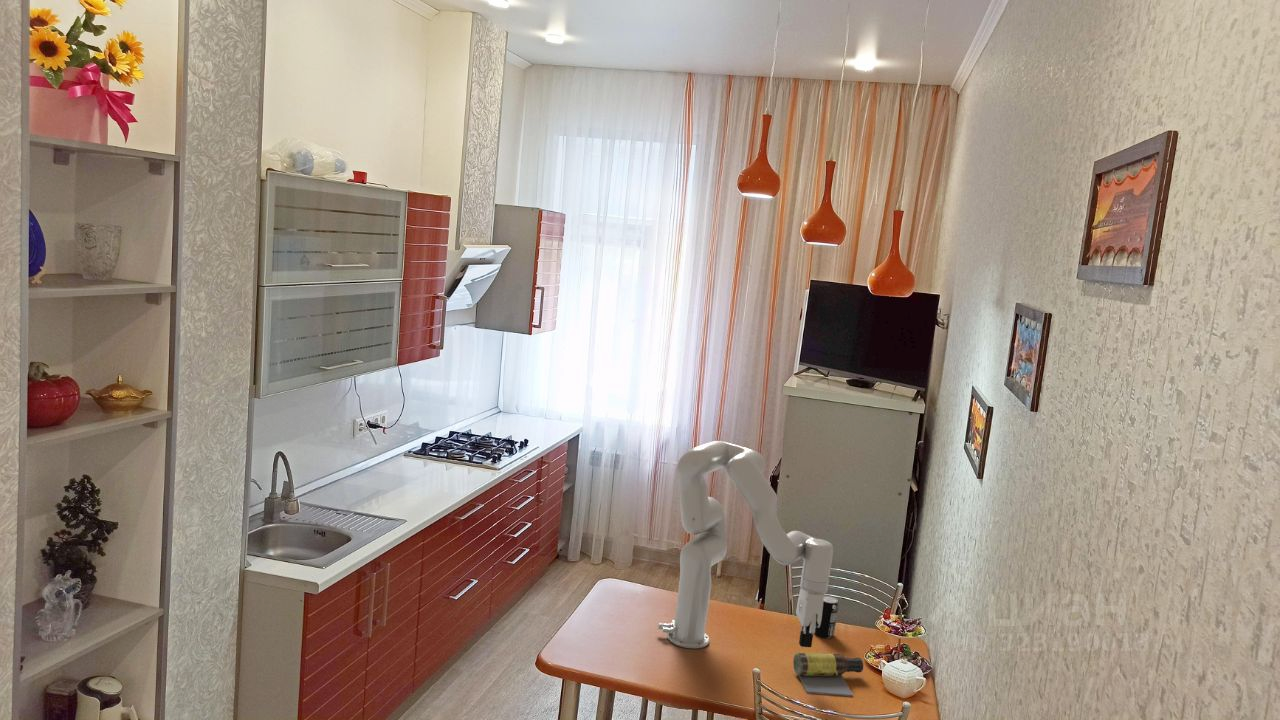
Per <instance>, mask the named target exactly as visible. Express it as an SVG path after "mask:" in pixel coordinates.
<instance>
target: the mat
mask: <svg viewBox="0 0 1280 720" xmlns="http://www.w3.org/2000/svg"><path fill="white" fill-rule="evenodd" d="M797 675H798V674H797ZM798 678H799V680H800V682H801V684H802V686H803V689H804V691H805V693H806V694H813V695H817V694H818V695H826V694H827V695H828V696H829V695H830V696H840V697H853V696H854V694H853V692H852V691H851V689H850V687H849V685H848V683H847V682H846V680H845V679H844V677H843V674H842V675H839V676H804V675H798Z"/></svg>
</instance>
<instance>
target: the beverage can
mask: <svg viewBox="0 0 1280 720" xmlns="http://www.w3.org/2000/svg"><path fill="white" fill-rule="evenodd" d="M838 601H839V600H838V598H836V597H835V596H832V595H828V594H827V595H825V594H824V600H823V611H822V619H821V624H820V627H819V628H817V627H816V626H815V633H814V634H815V636H817V637H819V638H823V639H830V638H832V637H834V636H835V631H836V624H837V619H838V611H839V602H838Z"/></svg>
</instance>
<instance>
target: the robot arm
mask: <svg viewBox="0 0 1280 720" xmlns="http://www.w3.org/2000/svg"><path fill="white" fill-rule="evenodd" d="M766 465H767V464H766V459H765V458H764V457H763V455H762V454H761V453H760V452H758V451H756V450H753V449H750V448H747V447H744V446H740V445H737V444H733V443H729V442H727V441H724V440H723V441H722V440H713V441H709V442H706V443H703V444H701V445H700V444H699V445H698V446H695V447H693V448H691V449H689V450H688V451H686V452H685V453H684V454H683V455H681V457H680V458H679V460H678V463H677V466H676V478H677V479H676V480H677V484H678V485H677V486H678V499H679V507H680V517H681V518H680V519H681V521H680V522H681V524H682V525H681V526H682V528H683V529H684V530H685V532H686V533H688V535H694V536H695V535H697V536H696V537H694V538H692V539H691V540H689V541H687V543H685V545H683V547H682V549H681V551H680V554H679V556H680V557H679V562H680V563H679V565H680V566H679V567H680V571H679V573H680V574H679V583H678V591H677V598H676V599H677V600H676V604H675V605H676V607H675V613H674V614H675V615H674V619H672V621H671V622H668V623H665V622H658V623H657V629H658V630H661V631H662V633H664V634H665V633H667V634H666V637H667V639H668V640H669V641H670V643H671V644H674V645H676V646H679V647H680V648H681V647H682V648H686V649H701V648H704V647H706V646H708V645H709V642H710V637H709V635H708V634H707V633H706V627H707V626H706V625H707V618H708V611H709V606H710V605H709V604H710V597H711V589H712V576H711V575H712V574H711V570H712V569H711V568H712V567H713V566H714V565H716V564H717V563H719V562H721V561H722V560H723V559H724V558H725V556H726V554H727V552H728V551H727V550H728V539H727V529H726V519H725V518H726V517H725V512H724V508H723V506H722V504H721V503H720V502H719V500H717V499H716V498H714V497H712V496H709V494H708V493H709V492H708V491H709V490H708V485H707V482H706V479H705V478H704V477H705V475H708V474H710V473H714V472H716V471H718V470H723V471H726V473H727V475H728V477H729V479H730V481H731V482H732V484H733V485H734V486H735V488H736V490H737V491H738V492H739V494H740V495H741V497H742V498H743V501H744V502H745V503H746V504H747V506H748V508H749V509H750V511H751V512H752V513H751V514H752V518H753V521H754V522H753V523H754V524H755V525H754V526H755V529H756V533H757V534H758V537H759V539H760V541H761V542H762V545H763V546H764V547H765V548H766V551H767V552H768V553H769V554H770V556H771V557H772V558H773V559H774V561H776V562H777V563H779V564H781V565H782V566H783V565H784V566H790V565H792V564H794V563H796V562H797V561H799V560H803V564H802V571H801V577H800V584H799V585H800V586H799V587H800V589H799V594H798V599H797V604H796V609H795V613H796V617H797V619H798V621H799V622H800V634H799V639H798V644H799V646H800V647H802V648H811V647H812V646H813V638H814V634H815V626H816V627H817V628H819V627H820V624H821V619H822V611H823V600H824V595H825V594H827V592H828V588H829V580H830V574H831V567H832V561H833V555H834V546H833V544H832V542H830V541H828V540H826V539H821V538H815V537H814V536H811V535H809V534H806V533H804V532H803V531H799V530H792V531H790V532H788V533H786V531H785V530H784V529H783V527H782V525H781V522H780V520H779V517H778V514H777V512H778V510H777V509H778V508H777V507H778V496H777V493H776V492H775V490H774V489H773V487H772V485H771V484H770V483H769V481H768V479H767V478H766V477H765V475H764V473H765V471H766V467H767V466H766Z"/></svg>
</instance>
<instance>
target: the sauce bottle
mask: <svg viewBox="0 0 1280 720" xmlns="http://www.w3.org/2000/svg"><path fill="white" fill-rule="evenodd" d="M792 662H793V663H792V664H793V670H794V672H795V673H796V674H797V675H804V676H839V675H842V676H843V675H844V674H846V673H847V672H848V673H850V672H851V673H853V672H855V673H857V674H858V673H862V672H863V670H864V662H863V659H862V658H861V657H853V658H852V657H851V658H849V657H845V656H844V655H842V654H840V653H832V652H796V653H794V656H793V661H792Z"/></svg>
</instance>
